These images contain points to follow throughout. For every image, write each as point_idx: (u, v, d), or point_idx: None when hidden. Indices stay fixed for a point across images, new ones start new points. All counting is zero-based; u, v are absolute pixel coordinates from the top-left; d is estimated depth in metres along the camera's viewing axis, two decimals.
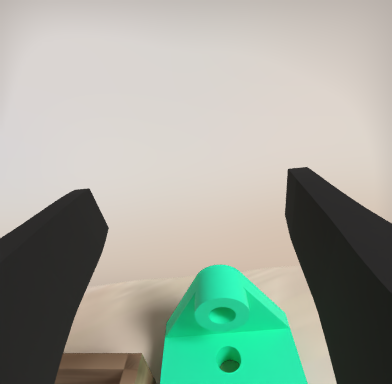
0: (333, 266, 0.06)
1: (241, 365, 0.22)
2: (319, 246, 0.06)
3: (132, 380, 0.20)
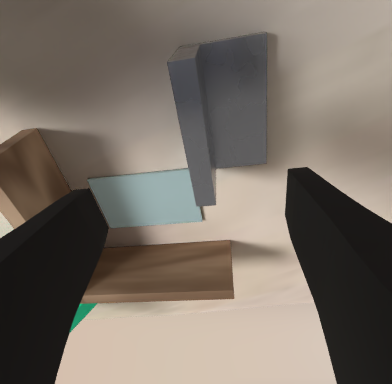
0: (333, 266, 0.06)
1: None
2: (319, 246, 0.06)
3: None
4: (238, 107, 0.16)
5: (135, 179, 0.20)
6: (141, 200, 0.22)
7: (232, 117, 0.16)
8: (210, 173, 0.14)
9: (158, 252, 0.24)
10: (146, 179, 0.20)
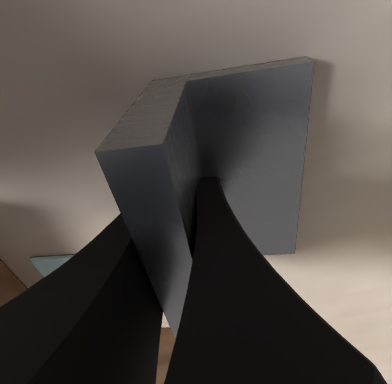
0: None
1: None
2: None
3: None
4: (254, 179, 0.09)
5: None
6: None
7: (244, 194, 0.10)
8: None
9: None
10: None
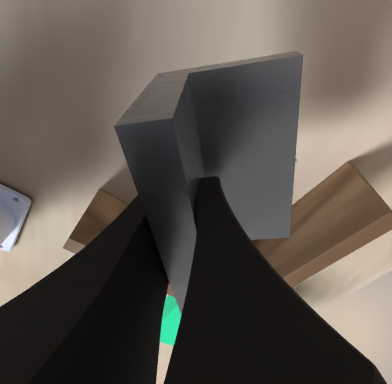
0: None
1: None
2: None
3: None
4: (250, 165, 0.10)
5: None
6: None
7: (241, 179, 0.11)
8: None
9: None
10: None
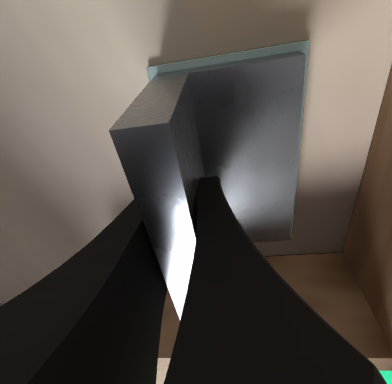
0: None
1: None
2: None
3: None
4: (251, 167, 0.10)
5: None
6: None
7: (242, 181, 0.10)
8: None
9: (381, 168, 0.10)
10: None
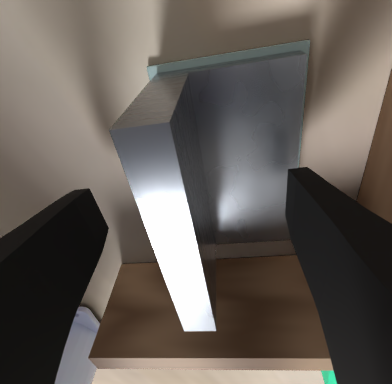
0: (333, 266, 0.06)
1: None
2: (319, 246, 0.06)
3: None
4: (252, 166, 0.10)
5: None
6: None
7: (242, 181, 0.10)
8: (206, 296, 0.08)
9: (382, 168, 0.10)
10: None
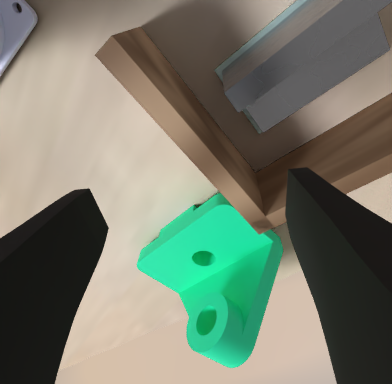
0: (333, 266, 0.06)
1: (191, 260, 0.24)
2: (319, 246, 0.06)
3: (246, 215, 0.17)
4: (312, 68, 0.15)
5: None
6: None
7: (299, 70, 0.15)
8: (279, 81, 0.12)
9: (335, 135, 0.17)
10: None
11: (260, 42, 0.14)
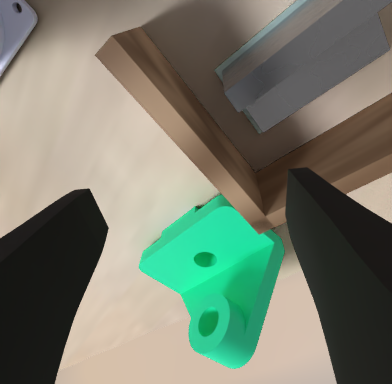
0: (333, 266, 0.06)
1: (193, 261, 0.24)
2: (319, 246, 0.06)
3: (246, 215, 0.17)
4: (312, 68, 0.15)
5: None
6: None
7: (299, 70, 0.15)
8: (279, 81, 0.12)
9: (335, 135, 0.17)
10: None
11: (260, 42, 0.14)
